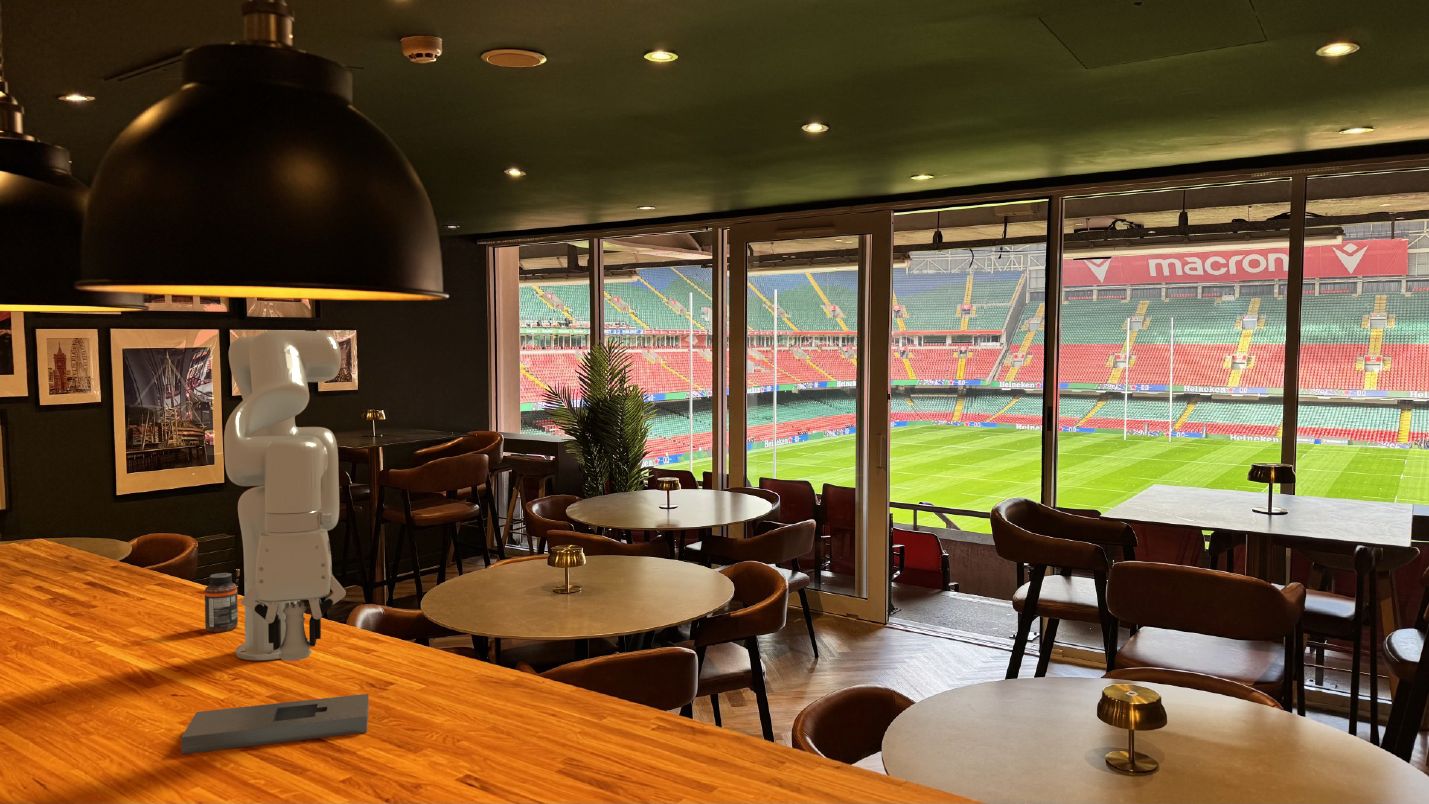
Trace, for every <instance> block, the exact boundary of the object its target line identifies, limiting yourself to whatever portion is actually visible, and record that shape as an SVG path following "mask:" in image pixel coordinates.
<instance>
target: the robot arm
mask: <svg viewBox="0 0 1429 804" xmlns="http://www.w3.org/2000/svg"><path fill="white" fill-rule="evenodd" d="M228 361H229V368H230V371H231V374H232V377H233V380H234V382H235V384H236V387H237V389H238V390H239V392H240V395H241V398H242V401H241V402H240V403H239V404H238V405H237V406H236V407H235V408H234V409H233V411H232V412H231V414H230V415H229V417H228V418H227V421H226V424H225V427H224V428H225V429H224V435H223V444H224V448H223V449H224V465H225V471H226V475H227V478H228V479H229V481H231V482H232V483H233V484H235V485H237V486H240V487H251V488H249V489H247V490H245V491H244V492H243V493H242V494H241V495H240V497H239V499H238V502H237V513H238V521H239V526H240V531H241V532H240V533H241V539H242V547H243V548H242V549H243V550H242V551H243V573H244V574H243V575H244V577H243V578H244V580H243V581H244V583H243V584H244V589H243V590H244V596H243V597H242V598H241V601H240V604H241V605H243V606H244V638H245V639H244V643H241V644H240V645H238V646H237V647H236V648H235V656H236V657H237V658H238V659H241V660H244V661H245V660H246V661H269V660H270V661H272V660H278V659H281V658H280V657H279V654H280V653H282V652H281V651H280V650H279V649H280V646H281V645H282V644H283V643H282V642H283V640H284V638H285V631H286V622H285V619H286V615H285V614H284V612H283V610H284V608H285V604H286V603H289V605H290V602H294V604H297V601H307V600H308V602H309V606H310V610H311V614H310V617H309V618H310V619H309V622H308V625H309V626H308V627H309V631H308V632H309V634H308V635H309V637H308V640H307V641H309V642H310V646H311V647H310V648H312V647H316V645H317V640H319V639H320V640H321V638H322V617H323V615H325V613H326V612H328V611H329V610H330V608H331V607H332V606H333V605H335V604H337V603H338V602H339V601H341V600H342V599H343V598H345V597H346V594H347V591H346V590H345V588H344V587H343V586H342V585H341V583H340V582H339V581H338V580H337V579H336V578H335V576H334V574H333V570H332V569H333V566H332V565H333V564H332V554H331V553H332V551H331V544H330V539H329V538H330V537H329V534H328V531H331V530H333V529H334V528H335V527H336V526H337V524H338V522H339V518H340V482H339V481H340V479H339V449H338V444H337V443H338V442H337V439H336V437H335V435H334V433H333V431H331V429H329V428H326V427H321V426H303V427H301V426H300V427H298V426H296V419H295V418H296V416H297V415H300V414H301V413H302V412H303V411H304V410H305V409H306V408H307V406H308V404H309V401H310V392H309V386H308V383H321V382H323V383H324V382H328V381H331V380H333V379H335V378H336V377H337V376H338V375H339V372H340V370H341V367H342V366H341V365H342V352H341V348H340V345H339V342H338V340H337V339H336V337H335V336H334V335H333V334H331V333H330V332H327V331H321V330H318V331H317V330H288V329H286V330H285V329H284V330H283V329H281V330H280V329H279V330H277V329H276V330H268V331H265V332H262V333H259V334H258V335H250V336H243V337H239V338H236V339H234V340H233V341H232V342H231V343H230V345H229V349H228ZM330 591H332V594H331V595H330ZM328 595H330V596H328ZM325 597H326V598H325ZM322 598H325V599H324V600H323V601H322V600H321V599H322Z"/></svg>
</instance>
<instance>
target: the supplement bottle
mask: <svg viewBox="0 0 1429 804" xmlns="http://www.w3.org/2000/svg"><path fill="white" fill-rule="evenodd" d="M232 577H233V575H232V573H230V572H220V573H213V574H210V576H209V584H208V585H207V587H205V589H204V619H205V620H204V622H205V623H204V626H205V630H206V631H207V632H210V633H224V632H229V631H231V630H234V629H236V628H237V627H238V625H239V624H238V623H239V618H238V617H239V614H238V610H239V609H238V587H237V585H236V583H233V581H232V580H233V578H232Z"/></svg>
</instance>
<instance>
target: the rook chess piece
mask: <svg viewBox="0 0 1429 804" xmlns="http://www.w3.org/2000/svg"><path fill="white" fill-rule="evenodd" d="M306 611H307V607H306V606H305V602H304V601H302V600H300V601H297V604H294V602H290V605H289V603H286V604H285V608H284V610H283V612H284V614H285V615H286V619H285V622H286V631H285V638H284V640H283V642H282V643H283V644H282V645H281V646H280V649H279V650H280V651H281V652H282V653H280V654H279V657H280V659H281V660H282V661H286V662H287V661H288V662H292V661H293V662H294V661H299V660H304V659H307V658H309V657H310V656H311V654H312V653H313V651H312V650H310V649H311V648H312V647H311V646H310V642H309V641H307V640H309V637H308V638H307V635H306V630H305V620H306V618H305V617H304V614H305V612H306Z"/></svg>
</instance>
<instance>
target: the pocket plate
mask: <svg viewBox="0 0 1429 804" xmlns="http://www.w3.org/2000/svg"><path fill="white" fill-rule="evenodd" d="M369 694H370V693H362V694H351V695H343V696H334V697H325V698H323V697H322V698H314V699H306V700H298V701H297V700H296V701H286V702H279V703H277V702H276V703H269V704H268V703H267V704H258V705H249V706H248V705H247V706H240V707H231V708H221V709H212V710H211V709H210V710H203V711H196V712H195V714H194V716H193V717H192V719H191V720H190V722H189V724H188V725H187V727H186V729H185V730H184V732H183V734H182V736H180V737H181V755H187V754H188V755H189V754H195V753H204V752H213V751H221V750H230V749H237V748H246V747H255V746H256V747H257V746H262V745H263V746H264V745H272V744H280V743H289V742H290V743H291V742H297V741H305V740H315V739H321V738H330V737H339V736H346V735H355V734H363V733H364V734H365V733H367V732H368V731H367V730H368V724H369V723H368V721H369V708H370V707H369V701H370V699H369Z"/></svg>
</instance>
